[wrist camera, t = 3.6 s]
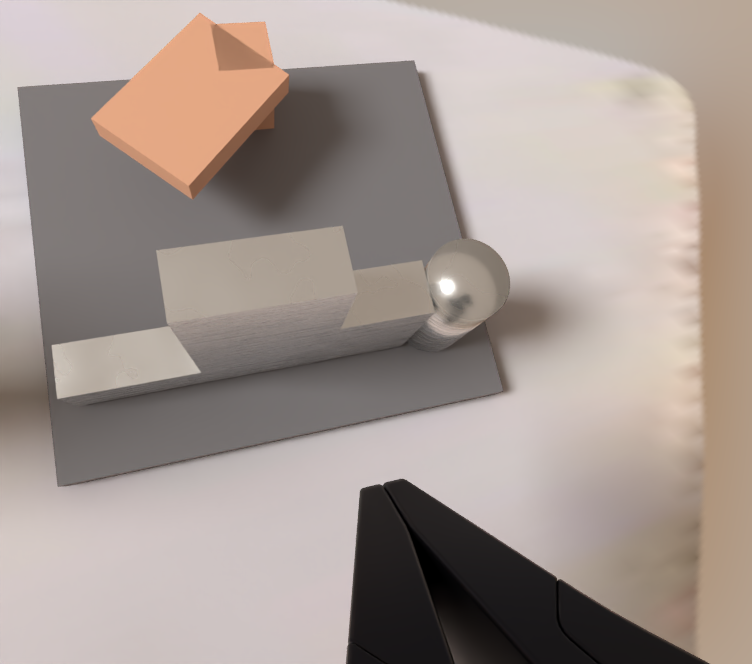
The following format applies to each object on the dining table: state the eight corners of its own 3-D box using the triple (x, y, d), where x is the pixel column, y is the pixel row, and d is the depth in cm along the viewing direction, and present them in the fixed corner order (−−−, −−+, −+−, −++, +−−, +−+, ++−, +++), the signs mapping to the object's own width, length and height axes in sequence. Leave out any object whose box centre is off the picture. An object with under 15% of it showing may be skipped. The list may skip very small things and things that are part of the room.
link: (468, 345, 23) (575, 275, 15) (79, 420, 20) (-55, 382, 12) (451, 282, 24) (545, 181, 16) (71, 344, 20) (-63, 257, 12)
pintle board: (496, 393, 24) (546, 376, 20) (65, 486, 20) (8, 489, 16) (410, 72, 27) (436, -6, 23) (25, 99, 23) (-31, 13, 19)
